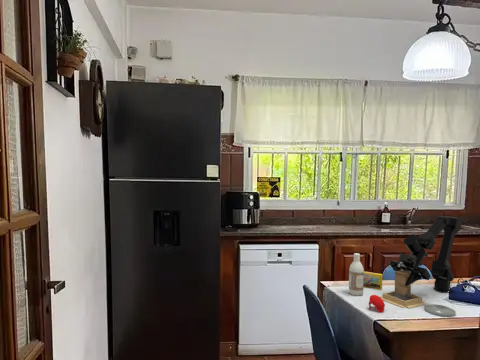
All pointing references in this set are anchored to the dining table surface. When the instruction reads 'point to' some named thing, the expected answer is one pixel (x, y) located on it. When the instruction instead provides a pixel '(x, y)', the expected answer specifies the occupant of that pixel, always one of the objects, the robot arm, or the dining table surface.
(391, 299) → the wooden square frame
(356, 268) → the bath foam
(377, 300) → the red rounded piece
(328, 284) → the dining table surface
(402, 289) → the walnut box
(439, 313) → the plate
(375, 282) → the candy box
